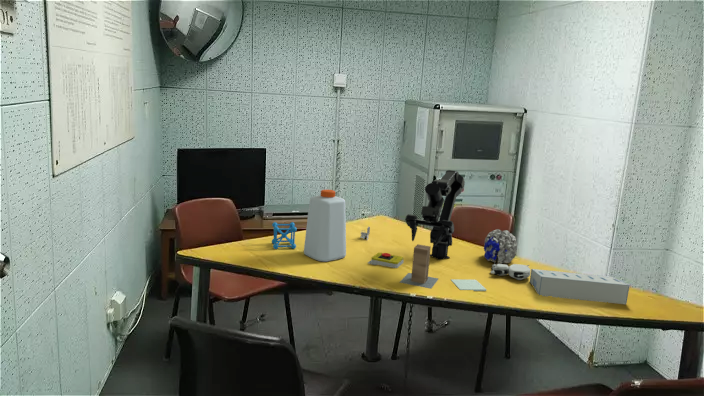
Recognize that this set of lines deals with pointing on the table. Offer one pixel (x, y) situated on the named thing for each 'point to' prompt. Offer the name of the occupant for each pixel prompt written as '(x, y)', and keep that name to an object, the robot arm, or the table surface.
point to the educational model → (500, 246)
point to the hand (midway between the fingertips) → (423, 242)
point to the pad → (468, 285)
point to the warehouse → (579, 286)
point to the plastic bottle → (326, 227)
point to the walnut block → (420, 263)
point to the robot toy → (511, 270)
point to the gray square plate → (427, 284)
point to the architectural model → (365, 235)
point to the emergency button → (386, 260)
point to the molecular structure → (284, 235)
